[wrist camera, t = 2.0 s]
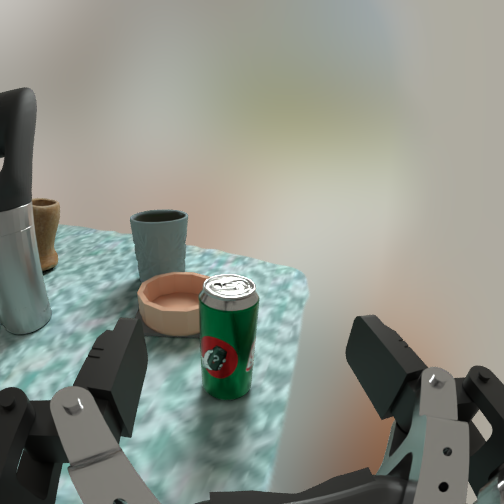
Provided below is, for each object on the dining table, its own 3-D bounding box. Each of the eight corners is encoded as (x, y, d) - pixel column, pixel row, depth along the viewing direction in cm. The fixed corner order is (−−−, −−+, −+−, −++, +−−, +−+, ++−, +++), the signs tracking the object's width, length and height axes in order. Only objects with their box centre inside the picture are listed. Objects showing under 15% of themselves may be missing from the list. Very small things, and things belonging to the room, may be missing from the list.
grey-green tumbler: (199, 277, 51) (199, 214, 47) (161, 297, 43) (157, 225, 39) (161, 264, 55) (159, 207, 52) (124, 280, 47) (118, 216, 43)
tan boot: (69, 269, 49) (61, 198, 44) (21, 280, 40) (9, 208, 36) (61, 249, 58) (56, 192, 54) (22, 258, 50) (14, 199, 45)
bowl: (133, 333, 32) (129, 308, 31) (150, 292, 43) (148, 271, 42) (221, 337, 34) (222, 312, 33) (219, 294, 45) (220, 272, 43)
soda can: (256, 399, 25) (269, 297, 21) (206, 406, 23) (202, 302, 19) (243, 367, 29) (250, 270, 25) (199, 372, 28) (195, 273, 24)
